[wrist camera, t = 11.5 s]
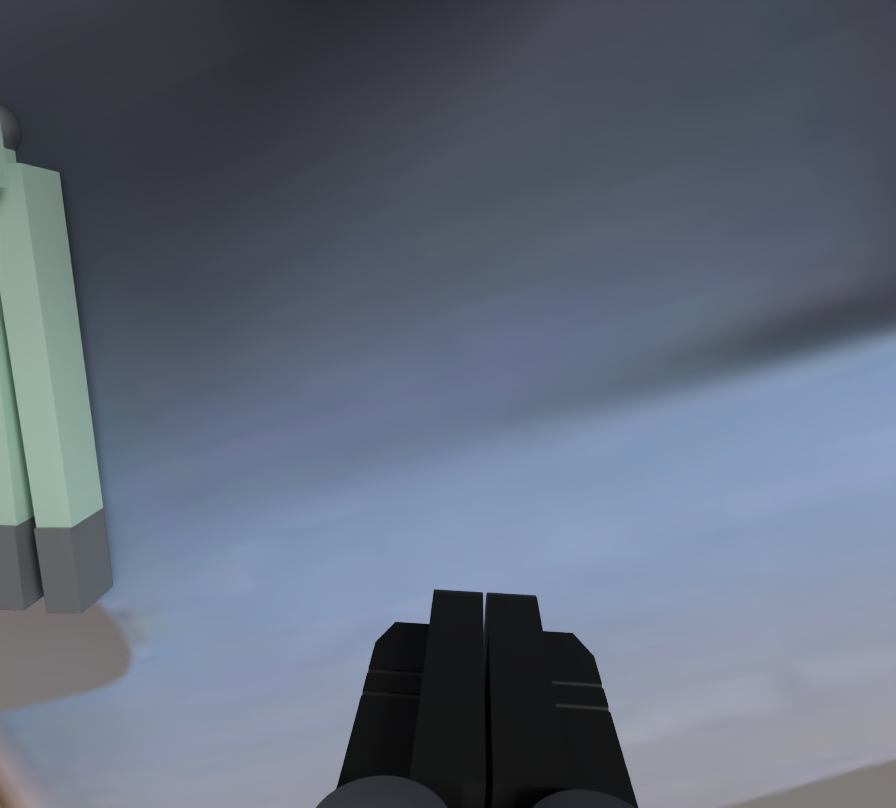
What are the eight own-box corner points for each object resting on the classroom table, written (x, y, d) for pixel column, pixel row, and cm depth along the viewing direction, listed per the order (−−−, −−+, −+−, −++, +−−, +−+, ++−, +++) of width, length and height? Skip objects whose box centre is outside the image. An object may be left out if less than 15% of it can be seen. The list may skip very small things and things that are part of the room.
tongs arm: (-49, 93, 34) (-134, 65, 29) (48, 91, 33) (-22, 61, 29) (29, 585, 39) (-31, 628, 34) (113, 585, 39) (63, 628, 34)
